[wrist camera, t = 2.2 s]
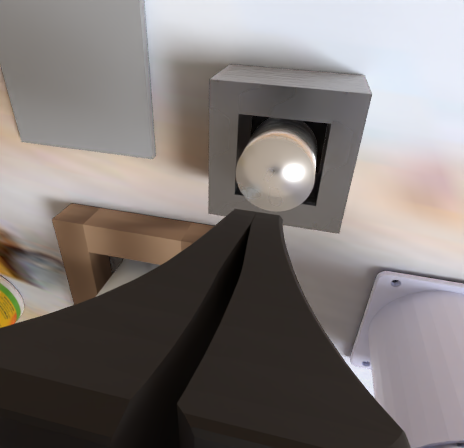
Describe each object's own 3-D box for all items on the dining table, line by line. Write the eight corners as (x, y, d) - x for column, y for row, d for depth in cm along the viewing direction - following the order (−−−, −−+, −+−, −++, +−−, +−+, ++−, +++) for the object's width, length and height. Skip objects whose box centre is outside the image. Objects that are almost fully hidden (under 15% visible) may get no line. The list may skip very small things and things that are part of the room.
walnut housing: (224, 227, 22) (215, 246, 20) (220, 340, 27) (213, 363, 26) (71, 203, 24) (52, 219, 22) (96, 314, 29) (82, 334, 27)
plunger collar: (364, 75, 16) (372, 94, 13) (337, 197, 19) (338, 233, 16) (230, 64, 17) (209, 79, 14) (225, 181, 20) (208, 213, 17)
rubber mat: (142, -18, 16) (137, -18, 16) (155, 155, 20) (152, 159, 20) (-17, -26, 17) (-25, -26, 17) (27, 138, 22) (21, 141, 21)
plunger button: (322, 119, 15) (321, 143, 13) (311, 183, 17) (308, 216, 15) (252, 111, 16) (237, 134, 14) (247, 175, 18) (234, 205, 15)
